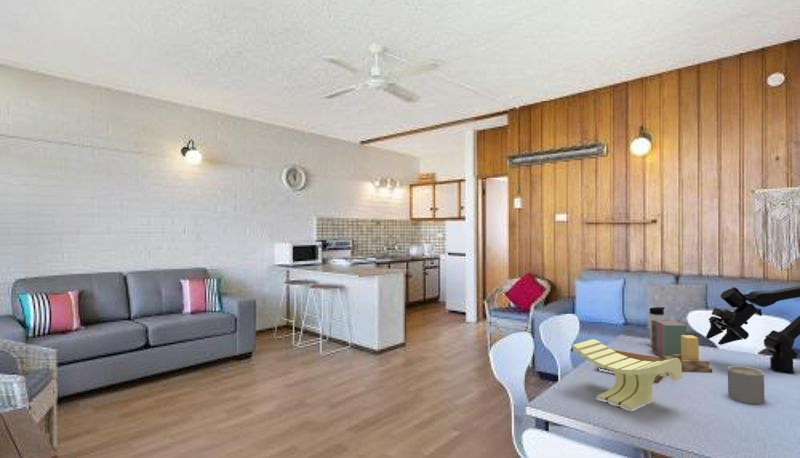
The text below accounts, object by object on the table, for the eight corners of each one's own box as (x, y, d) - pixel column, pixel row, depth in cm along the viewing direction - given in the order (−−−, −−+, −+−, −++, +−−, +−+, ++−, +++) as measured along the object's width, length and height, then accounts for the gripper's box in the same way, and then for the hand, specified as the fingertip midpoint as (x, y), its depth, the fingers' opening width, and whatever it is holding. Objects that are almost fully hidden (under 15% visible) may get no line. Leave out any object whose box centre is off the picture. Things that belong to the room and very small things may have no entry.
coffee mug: (759, 406, 143) (758, 377, 143) (723, 397, 151) (723, 369, 151) (771, 396, 151) (770, 368, 151) (737, 388, 159) (736, 361, 159)
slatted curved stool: (682, 408, 143) (681, 356, 143) (658, 421, 134) (657, 365, 134) (598, 382, 168) (597, 337, 168) (574, 392, 159) (572, 344, 159)
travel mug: (664, 349, 210) (663, 308, 210) (649, 347, 214) (648, 307, 214) (666, 346, 215) (665, 306, 214) (651, 344, 219) (650, 305, 218)
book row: (677, 350, 202) (676, 320, 202) (687, 356, 193) (686, 325, 193) (656, 349, 204) (656, 320, 204) (665, 355, 195) (664, 325, 195)
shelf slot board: (679, 352, 204) (678, 320, 204) (712, 372, 176) (711, 335, 176) (652, 352, 206) (651, 320, 206) (680, 371, 178) (679, 334, 178)
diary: (669, 372, 179) (668, 358, 179) (657, 385, 166) (657, 370, 166) (611, 361, 195) (610, 348, 195) (596, 371, 182) (596, 358, 182)
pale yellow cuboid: (692, 362, 184) (692, 335, 184) (699, 366, 179) (698, 338, 179) (681, 362, 185) (680, 335, 185) (687, 366, 180) (686, 338, 180)
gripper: (713, 297, 189) (686, 322, 191) (739, 305, 170) (709, 333, 172) (733, 315, 188) (706, 340, 189) (762, 325, 169) (732, 352, 171)
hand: (712, 341), depth 181 cm, fingers open, 9 cm apart
